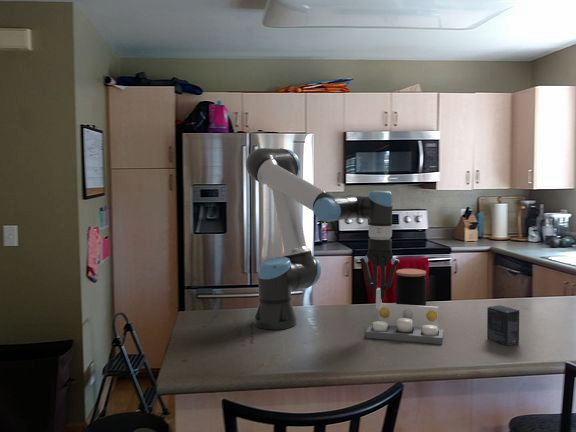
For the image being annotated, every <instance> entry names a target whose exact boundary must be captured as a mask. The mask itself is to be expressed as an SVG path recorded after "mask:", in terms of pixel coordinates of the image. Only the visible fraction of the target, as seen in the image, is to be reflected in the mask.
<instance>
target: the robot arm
mask: <svg viewBox="0 0 576 432" xmlns="http://www.w3.org/2000/svg"><path fill="white" fill-rule="evenodd" d="M245 167H246V171H247V174H248V175H249V176H250V177H251V178H252V179H254V181H256V182H257V183H260V184H261V185H267V187H268V188H269V189H271V190H272V195H273V200H274V205H275V206H274V207H275V211H276V217H277V220H278V221H277V222H278V226H279V231H280V237H281V241H282V247H283V252H282V254H281V256H276V257H270V258H266V259H263V260H261V262H259V264H258V272H257V279H258V280H257V281H258V282H257V283H258V284H257V285H258V305H257V309H256V311H255V315H254V319H253V320H254V326H255V327H256V328H259V329H263V330H269V331H270V330H274V331H275V330H277V331H278V330H284V329H285V330H286V329H290V328H292V327H294V326H296V325H297V316H296V313H295V310H294V307H293V304H292V292H295V291H298V290H301V289H307V288H309V287H313V286H314V285H316V283H318V281H319V279H320V277H321V274H322V267H321V263H320V261H319V259H317V258H316V257H315V256H314V255H313V253H312V250H311V249H310V248H308V247H307V245H306V244H307V243H306V239H305V235H304V227H303V224H302V218H301V214H300V207H299V204H301V205H302V206H303V207H306V208H308V209H309V210H311V211H312V212H313V213H314V216H315V217H316V219H317V220H319V221H321V222H328V223H330V222H335V221H341V220H350V219H362V220H363V219H364V220H368V237H369V238H368V244H367V245H368V246H367V247H368V250H367V253H366V255H365V256H362V257H361V258H360V259H359V261H360V263H361V265H362V267H363V271H364V276H365V281H366V284H367V287H368V288H371V289H372V298H373V299H375V309H376V310H379V309H381V308H382V303H383V302H382V300H385V297H386V290H387V289H390V288H391V287H392V283H393V280H394V279H393V278H394V276H395V273H396V269H397V266H398V264H399V263H400V259H398V258H396V257H394V254H393V252H392V250H393V249H392V244H393V240H392V237H393V206H394V203H393V192H391V191H390V190H371V191H370V192H369V194H368V196H365V195H363V196H362V195H353V194H349V195H348V194H347V195H346V194H345V195H342V196H334V195H332V194H330V193H328V192H326V191H325V190H323V189H321V188H319V187H317V186H316V185H314V184H312V183H310V182H309V181H307V180H305V179H304V178H301V177H300V176H298V175H299V173H300V171H301V162H300V159H299V157H298V155H297V154H296V153H295V152H294V151H293V150H291V149H286V148H266V147H263V148H262V147H261V148H257V149H255V150H253V151H251V152H250V153H249V154H248V156H247V158H246V162H245ZM298 203H299V204H298ZM390 261H391V268H390V271H389V275H388V279H387V277H386V275H387V265H388V264H389V262H390ZM369 262H370V263H371V265H372V276H371V271H370V267H369ZM379 267H380V287H379V283H378V282H379ZM386 279H387V280H386Z"/></svg>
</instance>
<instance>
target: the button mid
mask: <svg viewBox="0 0 576 432" xmlns="http://www.w3.org/2000/svg"><path fill="white" fill-rule="evenodd" d="M397 330H398V331H401V332H410V331H412V320H411V319H408V318H399V319H397Z"/></svg>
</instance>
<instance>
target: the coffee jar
mask: <svg viewBox="0 0 576 432" xmlns="http://www.w3.org/2000/svg"><path fill="white" fill-rule="evenodd" d="M395 273H396V278H395V296H396V297H395V304H403V305H419V306H427V277H426V275H427V271H426V270H424V269H419V268H401V269H397V270H395Z"/></svg>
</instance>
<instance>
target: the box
mask: <svg viewBox="0 0 576 432" xmlns="http://www.w3.org/2000/svg"><path fill="white" fill-rule="evenodd" d="M486 312H487V314H486V315H487V316H486V317H487V321H486V323H487V324H486V325H487V327H486V328H487V329H486V334H487V335H486V337H487V339H488V340H490V341H493V342H496V343H498V344H502V345H505V346H511V345H516V344H519V343H520V342H519V341H520V309H515V308H513V307H508V306H504V305H500V304H498V305H492V306H487V311H486Z"/></svg>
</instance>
